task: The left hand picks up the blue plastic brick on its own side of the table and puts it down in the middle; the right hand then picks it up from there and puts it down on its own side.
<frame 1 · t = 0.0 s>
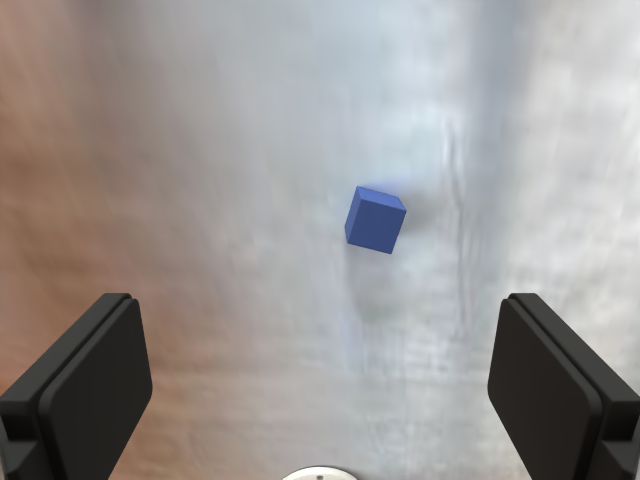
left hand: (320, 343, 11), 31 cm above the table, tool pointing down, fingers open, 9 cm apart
brick: (370, 212, 42), on the table
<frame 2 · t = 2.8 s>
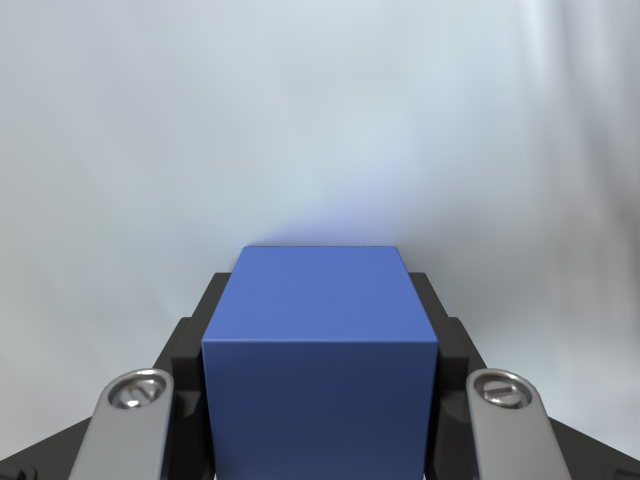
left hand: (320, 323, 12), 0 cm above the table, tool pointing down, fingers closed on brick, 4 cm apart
brick: (319, 315, 12), on the table, touching left hand
when the left hand's fingers open (1 cm above the table, at t = 8.0 s): brick stays where it is, on the table.
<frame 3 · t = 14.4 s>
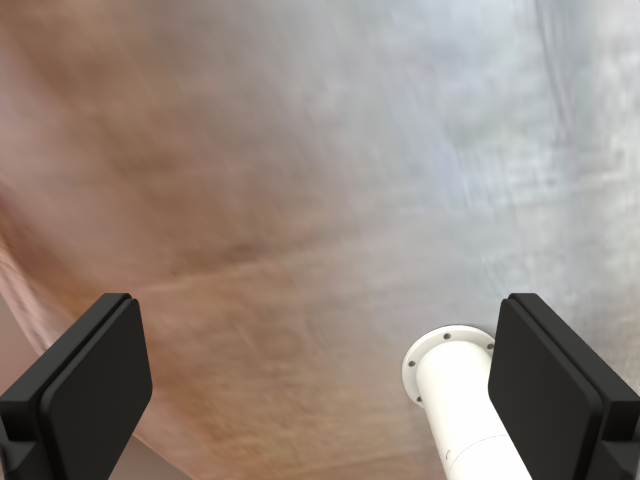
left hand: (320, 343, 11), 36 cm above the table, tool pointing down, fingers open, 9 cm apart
when the right hand's fingers open (2 cm above the table, at t = 19.2 s): brick stays where it is, on the table.
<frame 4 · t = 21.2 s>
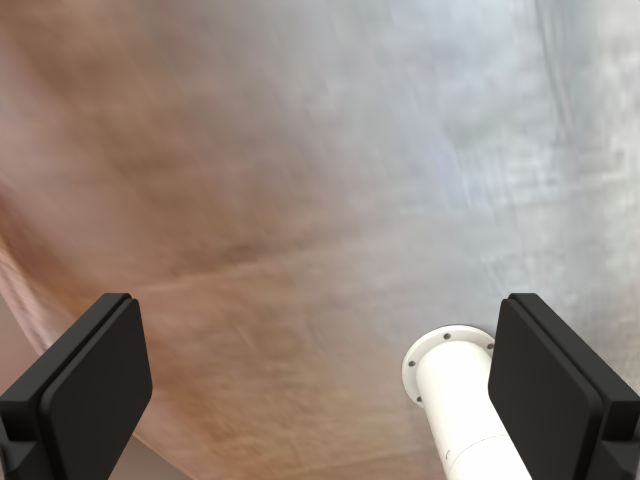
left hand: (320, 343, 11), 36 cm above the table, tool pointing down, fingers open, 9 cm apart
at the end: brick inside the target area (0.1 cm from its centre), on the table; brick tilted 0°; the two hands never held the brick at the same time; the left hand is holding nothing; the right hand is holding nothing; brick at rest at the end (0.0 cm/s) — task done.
